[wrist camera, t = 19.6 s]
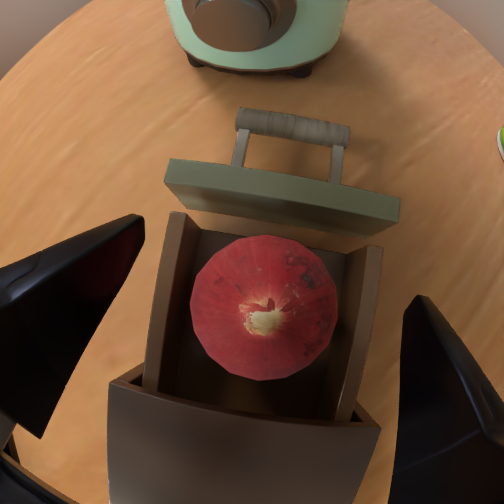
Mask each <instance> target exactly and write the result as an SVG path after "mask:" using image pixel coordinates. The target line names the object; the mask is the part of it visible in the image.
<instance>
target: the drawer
mask: <svg viewBox="0 0 504 504" xmlns="http://www.w3.org/2000/svg"><path fill="white" fill-rule="evenodd" d="M235 127H236V131H237V132H238V134H237V139H236V143H235V147H234V152H233V156H232V161H231V165H223V164H216V163H208V162H199V161H190V160H181V159H170V160H169V163H168V167H167V171H166V174H165V178H164V183H165V184H166V185H167V187H168V188H169V189H170V190H171V191H172V192H173V193H174V195H175V196H176V197H177V198H178V199H179V200H180V201H181V203H182V204H183V205H184V206H185V207H186V208H187V209H192V210H199V211H205V212H212V213H218V214H225V215H231V216H237V217H243V218H250V219H256V220H262V221H267V222H273V223H279V224H285V225H291V226H296V227H302V228H307V229H313V230H318V231H324V232H329V233H335V234H340V235H345V236H350V237H356V238H361V239H367V238H369V237H371V236H373V235H375V234H377V233H379V232H381V231H383V230H385V229H387V228H389V227H391V226H393V225H395V224H397V223H399V213H400V198H396V197H392V196H388V195H384V194H380V193H376V192H372V191H367V190H363V189H359V188H354V187H350V186H345V185H341V178H342V167H343V154H344V150H346V148H347V146H348V143H349V139H350V127H349V126H346V125H341V124H337V123H332V122H328V121H323V120H318V119H313V118H308V117H302V116H297V115H291V114H285V113H279V112H272V111H265V110H258V109H250V108H242V107H240V108H239V109H238V112H237V116H236V125H235ZM250 134H257V135H264V136H270V137H277V138H283V139H289V140H294V141H300V142H305V143H311V144H316V145H321V146H326V147H330V148H332V149H331V157H330V167H329V177H328V182H326V181H321V180H316V179H310V178H305V177H300V176H294V175H288V174H283V173H277V172H271V171H265V170H258V169H252V168H245V167H244V162H245V157H246V152H247V147H248V143H249V138H250ZM241 238H247V236H241V235H235V234H229V233H223V232H217V231H211V230H204V229H201V228H200V227H199V226H198V225H197V224H196V223H195V222H194V221H193V220H192V219H191V218H190V217H189V216H188V215H187V214H186V213H181V212H174V211H172V212H170V216H169V220H168V225H167V230H166V234H165V239H164V244H163V249H162V254H161V259H160V264H159V269H158V275H157V280H156V286H155V292H154V298H153V304H152V310H151V317H150V324H149V331H148V338H147V345H146V353H145V362H144V370H143V380H142V387H143V388H146V389H150V390H153V391H157V392H160V393H164V394H168V395H171V396H175V397H179V398H183V399H187V400H192V401H196V402H200V403H205V404H209V405H214V406H219V407H224V408H230V409H235V410H241V411H247V412H253V413H259V414H266V415H274V416H281V417H290V418H300V419H310V420H323V421H340V422H350V419H351V416H352V412H353V409H354V405H355V401H356V398H357V394H358V390H359V386H360V382H361V378H362V374H363V369H364V365H365V361H366V356H367V351H368V346H369V341H370V336H371V331H372V326H373V320H374V315H375V309H376V302H377V296H378V289H379V282H380V275H381V267H382V258H383V248H382V247H378V246H373V245H367V246H364V247H362V248H359V249H357V250H355V251H352V252H350V253H348V254H344V253H339V252H333V251H327V250H322V249H316V248H310V247H305V246H304V247H305V248H307V249H308V250H310V251H311V252H312V253H314V254H315V255H317V256H318V257H319V258H321V260H322V262H323V264H324V265H325V267H326V269H327V271H328V273H329V275H330V277H331V279H332V280H333V282H334V284H335V286H336V295H337V310H338V319H337V322H336V325H335V327H334V330H333V333H332V336H331V339H330V341H329V344H328V345H327V347H326V348H325V349H324V350H323V351H322V352H321V353H320V354H319V355H318V356H317V357H316V358H315V360H314V361H313V362H312V363H311V364H310V365H308V366H306V367H305V368H303V369H301V370H299V371H297V372H295V373H294V374H292V375H290V376H288V377H286V378H278V379H269V380H260V381H257V380H254V379H250V378H247V377H243V376H240V375H236V374H233V373H230V372H229V371H227V370H226V369H225V368H224V367H222V366H221V365H220V364H219V363H217V362H216V361H215V360H214V359H212V358H211V357H210V356H209V355H208V354H207V352H206V351H205V349H204V347H203V346H202V344H201V342H200V340H199V339H198V337H197V335H196V334H195V332H194V328H193V322H192V315H191V309H190V300H191V296H192V292H193V287H194V283H195V279H196V275H197V274H198V273H199V272H200V271H201V269H202V268H203V267H204V266H205V265H206V263H207V262H208V261H209V260H210V259H211V258H212V256H213V255H214V254H215V253H217V252H218V251H220V250H222V249H223V248H225V247H226V246H228V245H230V244H231V243H233V242H234V241H236V240H238V239H241Z"/></svg>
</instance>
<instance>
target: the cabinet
mask: <svg viewBox="0 0 504 504" xmlns="http://www.w3.org/2000/svg"><path fill="white" fill-rule="evenodd" d="M143 370H144V362H143V363H141V364H140V365H138V366H136V367H135V368H133V369H131V370H130V371H128V372H126V373H125V374H123V375H121V376H119V377H118V378H116V379H114V380H112V381H111V382H109V391H108V413H107V466H108V487H109V501H110V504H352V502H353V500H354V498H355V495H356V493H357V491H358V489H359V486H360V484H361V482H362V479H363V477H364V474H365V472H366V469H367V467H368V464H369V462H370V459H371V456H372V454H373V451H374V448H375V445H376V443H377V440H378V437H379V434H380V431H381V427H380V426H379V425H378V424H377V423H376V421H375V420H374V419H373V418H372V417H371V416H370V415H369V414H368V413H367V412H366V410H365V409H364V408H363V407H362V406H361V405H360V404H359V403H358V402H357V400H356V401H355V405H354V409H353V412H352V416H351V419H350V422H340V421H323V420H310V419H300V418H290V417H281V416H274V415H266V414H259V413H253V412H247V411H241V410H235V409H230V408H224V407H219V406H214V405H209V404H205V403H200V402H196V401H192V400H187V399H183V398H179V397H175V396H171V395H168V394H164V393H160V392H157V391H153V390H150V389H146V388H143V387H142V380H143Z"/></svg>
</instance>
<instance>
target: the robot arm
mask: <svg viewBox="0 0 504 504" xmlns="http://www.w3.org/2000/svg"><path fill="white" fill-rule="evenodd" d="M144 241H145V221H144V218H143V216H140V215H136V214H129V215H127V216H124V217H121V218H119V219H116V220H113V221H111V222H108V223H106V224H103V225H101V226H98V227H96V228H93V229H91V230H88V231H86V232H83V233H81V234H79V235H76V236H74V237H71V238H69V239H67V240H64V241H62V242H60V243H57V244H55V245H53V246H51V247H48V248H46V249H44V250H42V251H39V252H37V253H35V254H33V255H31V256H28V257H26V258H24V259H22V260H19V261H17V262H15V263H12V264H10V265H7V266H5V267H2V268H0V504H79V503H78V502H76V501H74V500H72V499H71V498H69V497H67V496H65V495H64V494H62V493H61V492H59V491H57V490H56V489H54V488H53V487H51V486H50V485H48V484H46V483H45V482H44V481H42V480H41V479H39V478H38V477H36V476H35V475H33V474H32V473H31V472H29V471H28V470H27V469H25V468H24V467H22V466H21V464H20V460H19V457H18V453H17V450H16V446H15V442H14V438H13V434H12V432H13V430H14V428H15V426H16V424H17V423H18V424H19V425H20V426H22V427H23V428H24V429H26V430H27V431H28V432H30V433H31V434H33V435H34V436H35V437H37V438H38V439H41V438H42V436H43V434H44V432H45V429H46V427H47V425H48V423H49V420H50V418H51V416H52V414H53V412H54V410H55V407H56V405H57V403H58V401H59V399H60V397H61V395H62V393H63V391H64V389H65V386H66V385H67V383H68V381H69V379H70V377H71V375H72V373H73V371H74V369H75V367H76V365H77V363H78V361H79V360H80V358H81V356H82V354H83V352H84V350H85V348H86V347H87V345H88V343H89V341H90V339H91V338H92V336H93V334H94V332H95V331H96V329H97V327H98V325H99V324H100V322H101V320H102V318H103V317H104V315H105V313H106V312H107V310H108V308H109V307H110V305H111V303H112V302H113V300H114V298H115V297H116V295H117V293H118V292H119V290H120V289H121V287H122V285H123V284H124V282H125V280H126V278H127V276H128V274H129V272H130V270H131V268H132V266H133V264H134V262H135V260H136V258H137V256H138V254H139V252H140V250H141V248H142V246H143V244H144ZM388 504H504V402H503V401H502V399H501V398H500V396H499V395H498V393H497V392H496V390H495V389H494V387H493V386H492V384H491V383H490V381H489V380H488V378H487V377H486V375H485V374H483V371H482V369H481V368H480V366H479V365H478V363H477V362H476V360H475V359H474V357H473V356H472V354H471V353H470V352H469V350H468V349H467V347H466V346H465V344H464V343H463V342H462V340H461V339H460V338H459V336H458V335H457V333H456V332H455V331H454V329H453V328H452V327H451V325H450V324H449V323H448V321H447V320H446V319H445V317H444V316H443V315H442V313H441V312H440V311H439V310H438V308H437V307H436V306H435V305H434V303H433V302H432V301H431V299H430V298H429V297H427V296H424V295H420V294H419V295H416V296H415V297H414V299H413V300H412V302H411V303H410V304H409V306H408V307H407V309H406V310H405V312H404V315H403V324H402V339H401V351H400V394H399V415H398V430H397V441H396V451H395V460H394V468H393V475H392V481H391V487H390V493H389V499H388Z"/></svg>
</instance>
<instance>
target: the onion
mask: <svg viewBox="0 0 504 504" xmlns="http://www.w3.org/2000/svg"><path fill="white" fill-rule="evenodd" d="M190 309H191V315H192V322H193V328H194V332H195V334H196V335H197V337H198V339H199V340H200V342H201V344H202V346H203V347H204V349H205V351H206V352H207V354H208V355H209V356H210V357H211V358H212V359H214V360H215V361H216V362H217V363H219V364H220V365H221V366H222V367H224V368H225V369H226V370H227V371H229V372H230V373H233V374H236V375H240V376H243V377H247V378H250V379H254V380H257V381H260V380H269V379H278V378H286V377H288V376H290V375H292V374H294V373H295V372H297V371H299V370H301V369H303V368H305V367H306V366H308V365H310V364H311V363H312V362H313V361H314V360H315V358H316V357H317V356H318V355H319V354H320V353H321V352H322V351H323V350H324V349H325V348H326V347H327V345H328V344H329V341H330V339H331V336H332V333H333V330H334V327H335V325H336V322H337V319H338V310H337V295H336V286H335V284H334V282H333V280H332V279H331V277H330V275H329V273H328V271H327V269H326V267H325V265H324V264H323V262H322V260H321V258H319V257H318V256H317V255H315V254H314V253H312V252H311V251H310V250H308V249H307V248H305V247H304V246H303V245H301V244H300V243H298V242H297V241H295V240H292V239H287V238H282V237H277V236H272V235H267V234H265V235H259V236H253V237H247V238H241V239H238V240H236V241H234V242H233V243H231V244H230V245H228V246H226V247H225V248H223V249H222V250H220V251H218V252H217V253H215V254H214V255H213V256H212V258H211V259H210V260H209V261H208V262H207V263H206V265H205V266H204V267H203V268H202V269H201V271H200V272H199V273H198V274H197V275H196V279H195V283H194V287H193V292H192V296H191V300H190Z"/></svg>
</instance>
